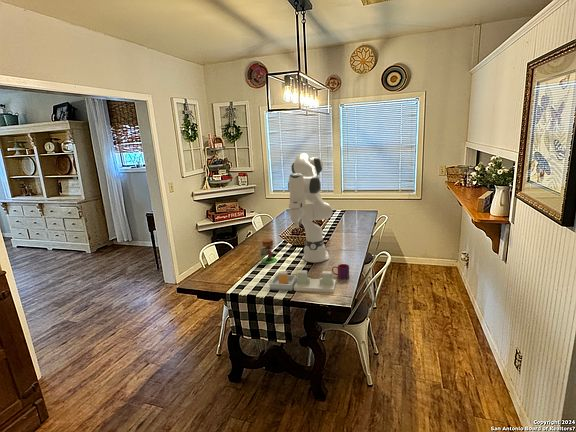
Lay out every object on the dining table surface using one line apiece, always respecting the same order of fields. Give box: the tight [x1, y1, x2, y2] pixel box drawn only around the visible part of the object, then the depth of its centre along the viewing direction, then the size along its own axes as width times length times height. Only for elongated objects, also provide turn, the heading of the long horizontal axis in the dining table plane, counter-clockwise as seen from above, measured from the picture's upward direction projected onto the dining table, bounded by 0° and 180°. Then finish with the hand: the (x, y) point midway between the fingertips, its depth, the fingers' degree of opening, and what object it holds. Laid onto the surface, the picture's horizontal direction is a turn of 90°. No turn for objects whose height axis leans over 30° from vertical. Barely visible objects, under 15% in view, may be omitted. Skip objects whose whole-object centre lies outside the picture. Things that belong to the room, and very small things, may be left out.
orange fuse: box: [277, 270, 289, 284], centre depth 186 cm, size 3×5×7 cm, turn 76°
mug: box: [331, 263, 350, 280], centre depth 192 cm, size 7×10×7 cm
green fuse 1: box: [297, 269, 308, 284], centre depth 183 cm, size 3×5×7 cm, turn 76°
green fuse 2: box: [321, 270, 333, 285], centre depth 179 cm, size 3×5×7 cm, turn 76°
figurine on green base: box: [259, 238, 278, 264], centre depth 225 cm, size 12×13×15 cm
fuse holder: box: [293, 276, 337, 293], centre depth 182 cm, size 12×22×5 cm, turn 76°
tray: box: [269, 274, 298, 292], centre depth 187 cm, size 13×13×4 cm
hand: (299, 225), depth 186 cm, fingers open, 8 cm apart
